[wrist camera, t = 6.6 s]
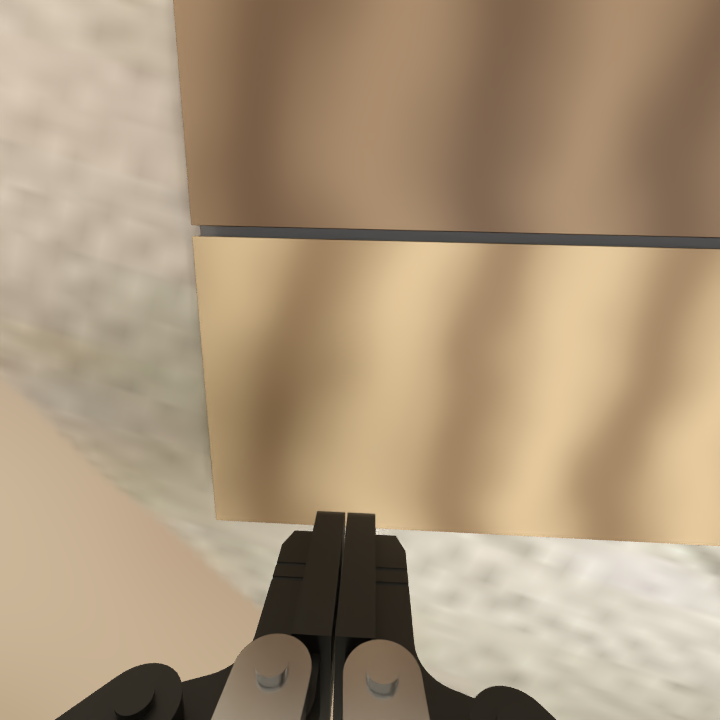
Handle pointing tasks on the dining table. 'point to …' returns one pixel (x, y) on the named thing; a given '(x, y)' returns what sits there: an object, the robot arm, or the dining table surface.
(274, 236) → the underlay mat
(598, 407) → the oak plank
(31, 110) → the dining table surface
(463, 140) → the walnut plank
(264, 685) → the robot arm
